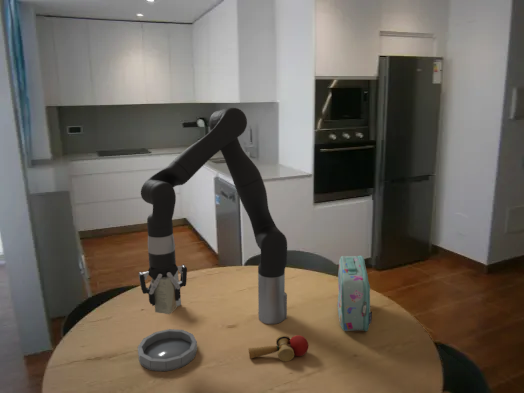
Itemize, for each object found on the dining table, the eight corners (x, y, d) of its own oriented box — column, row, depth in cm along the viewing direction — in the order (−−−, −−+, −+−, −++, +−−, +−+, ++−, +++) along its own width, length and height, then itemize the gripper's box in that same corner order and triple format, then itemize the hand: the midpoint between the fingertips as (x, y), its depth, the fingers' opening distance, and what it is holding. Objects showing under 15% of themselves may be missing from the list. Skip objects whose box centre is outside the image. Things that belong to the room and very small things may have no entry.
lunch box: (372, 340, 133) (376, 278, 128) (339, 338, 134) (342, 276, 129) (362, 301, 159) (365, 248, 154) (335, 300, 160) (337, 247, 155)
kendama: (251, 371, 120) (312, 358, 121) (248, 350, 120) (308, 338, 121) (250, 359, 128) (307, 348, 129) (247, 339, 127) (303, 328, 129)
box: (177, 308, 124) (175, 273, 122) (169, 315, 120) (167, 279, 118) (161, 305, 126) (159, 271, 124) (153, 312, 122) (151, 277, 120)
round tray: (188, 333, 137) (188, 324, 137) (203, 361, 122) (202, 352, 121) (135, 345, 130) (134, 336, 130) (143, 377, 115) (142, 367, 114)
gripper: (183, 241, 125) (185, 292, 129) (133, 248, 119) (138, 301, 123) (189, 249, 118) (192, 302, 122) (137, 257, 113) (142, 313, 116)
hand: (165, 301), depth 123 cm, fingers closed on box, 6 cm apart
